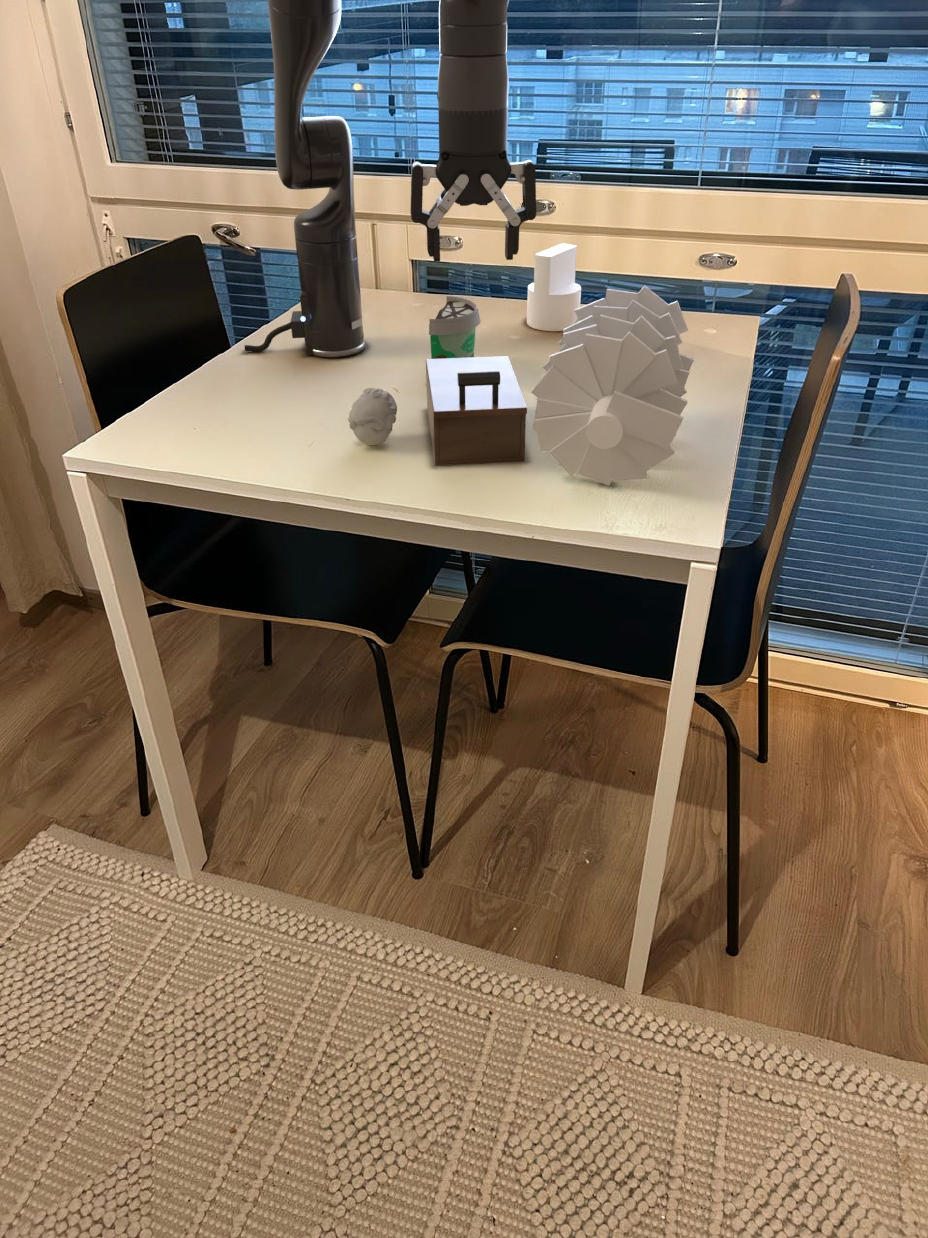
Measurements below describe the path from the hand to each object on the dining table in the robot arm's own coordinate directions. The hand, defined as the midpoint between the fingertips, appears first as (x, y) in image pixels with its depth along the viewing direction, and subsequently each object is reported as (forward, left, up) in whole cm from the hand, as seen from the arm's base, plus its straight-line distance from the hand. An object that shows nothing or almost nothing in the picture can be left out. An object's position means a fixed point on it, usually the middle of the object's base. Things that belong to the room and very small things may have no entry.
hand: (473, 259), depth 109 cm
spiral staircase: (+17, -6, -23) cm, 29 cm away
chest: (0, 0, -22) cm, 22 cm away
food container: (0, +22, -23) cm, 32 cm away
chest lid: (0, 0, -16) cm, 16 cm away
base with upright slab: (+18, +45, -23) cm, 54 cm away
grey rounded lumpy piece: (-13, -1, -23) cm, 26 cm away
